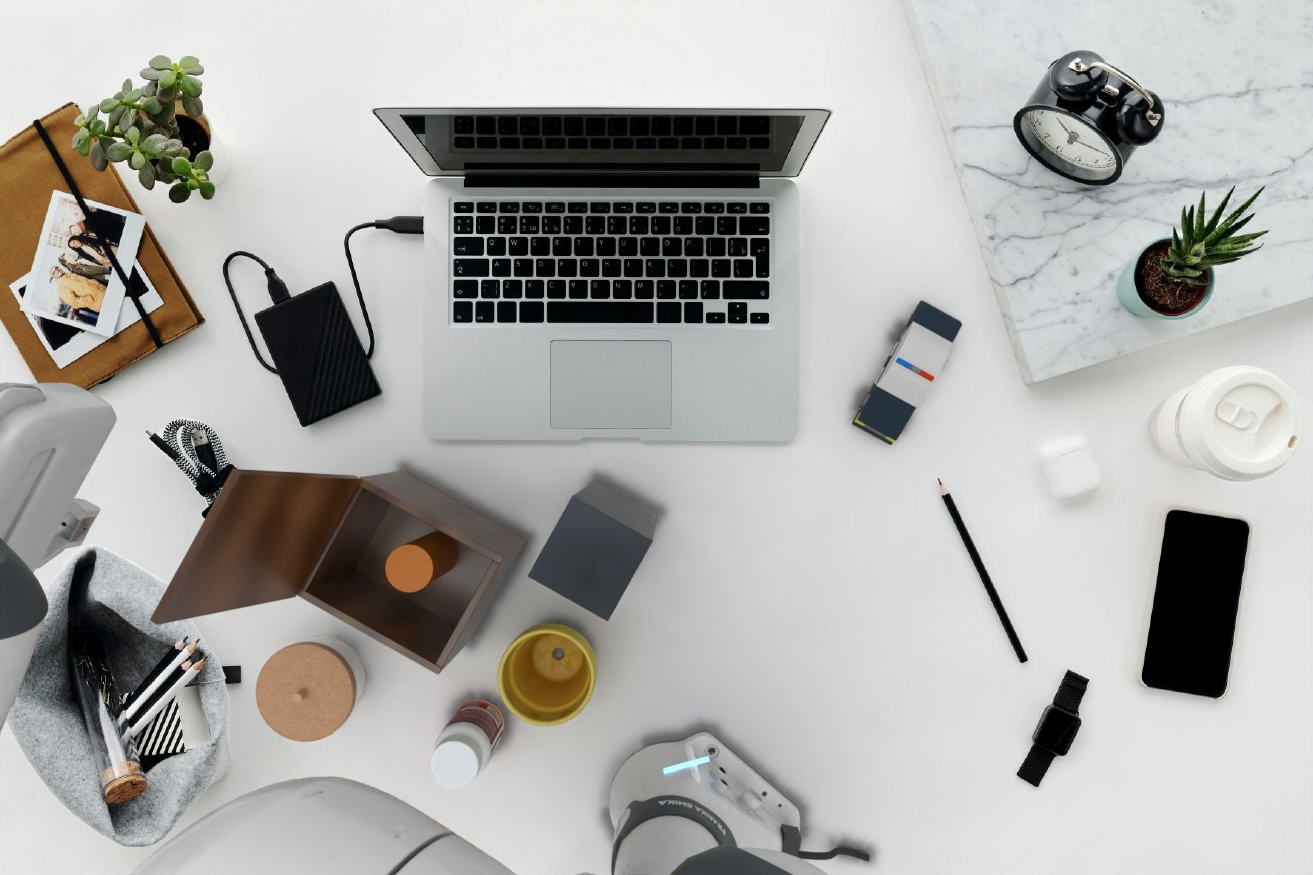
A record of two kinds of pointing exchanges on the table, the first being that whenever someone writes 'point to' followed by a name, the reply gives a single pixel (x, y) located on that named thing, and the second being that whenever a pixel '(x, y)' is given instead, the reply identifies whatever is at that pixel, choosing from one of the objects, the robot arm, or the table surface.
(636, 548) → the stand
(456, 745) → the pill bottle
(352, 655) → the trinket box
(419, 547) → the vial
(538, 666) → the flower pot
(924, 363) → the toy car
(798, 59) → the table surface
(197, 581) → the chest lid
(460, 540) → the chest
